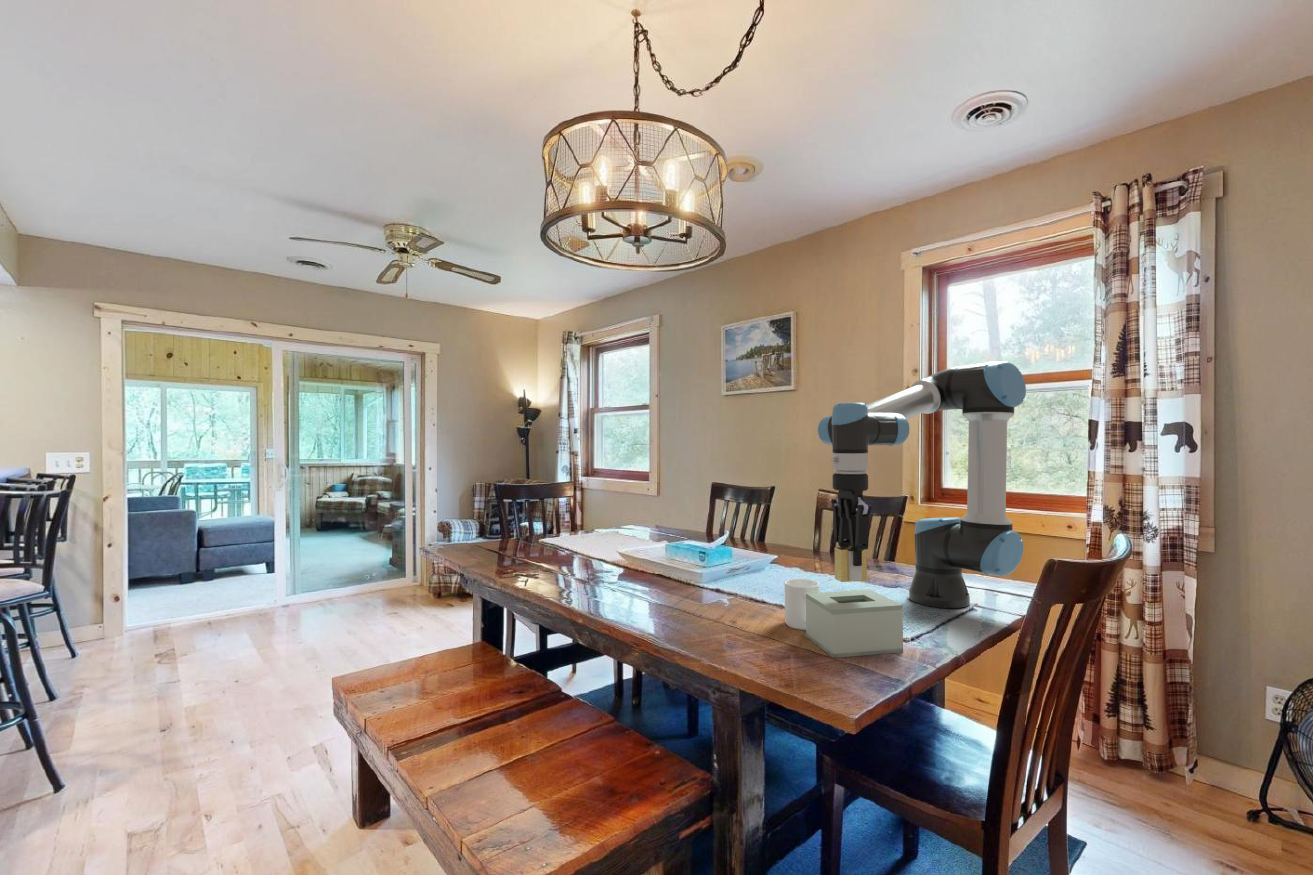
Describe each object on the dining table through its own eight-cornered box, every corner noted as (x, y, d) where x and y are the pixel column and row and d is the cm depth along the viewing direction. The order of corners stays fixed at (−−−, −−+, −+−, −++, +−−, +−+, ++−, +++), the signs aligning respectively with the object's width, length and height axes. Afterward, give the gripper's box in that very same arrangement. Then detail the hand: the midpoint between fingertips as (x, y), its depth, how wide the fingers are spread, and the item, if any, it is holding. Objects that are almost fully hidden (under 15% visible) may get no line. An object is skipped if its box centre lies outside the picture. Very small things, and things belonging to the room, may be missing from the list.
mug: (829, 635, 131) (828, 591, 131) (793, 636, 131) (792, 591, 131) (814, 619, 143) (813, 578, 143) (781, 619, 143) (781, 578, 143)
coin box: (870, 631, 133) (869, 589, 133) (903, 652, 120) (902, 605, 121) (806, 636, 131) (805, 593, 131) (833, 658, 118) (832, 610, 118)
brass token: (859, 577, 127) (859, 546, 127) (866, 580, 124) (866, 548, 125) (834, 578, 126) (834, 547, 126) (841, 582, 123) (841, 549, 124)
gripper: (818, 470, 133) (818, 570, 133) (853, 474, 117) (853, 588, 117) (847, 470, 134) (848, 569, 134) (886, 474, 118) (887, 586, 118)
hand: (851, 577), depth 125 cm, fingers closed on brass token, 3 cm apart
